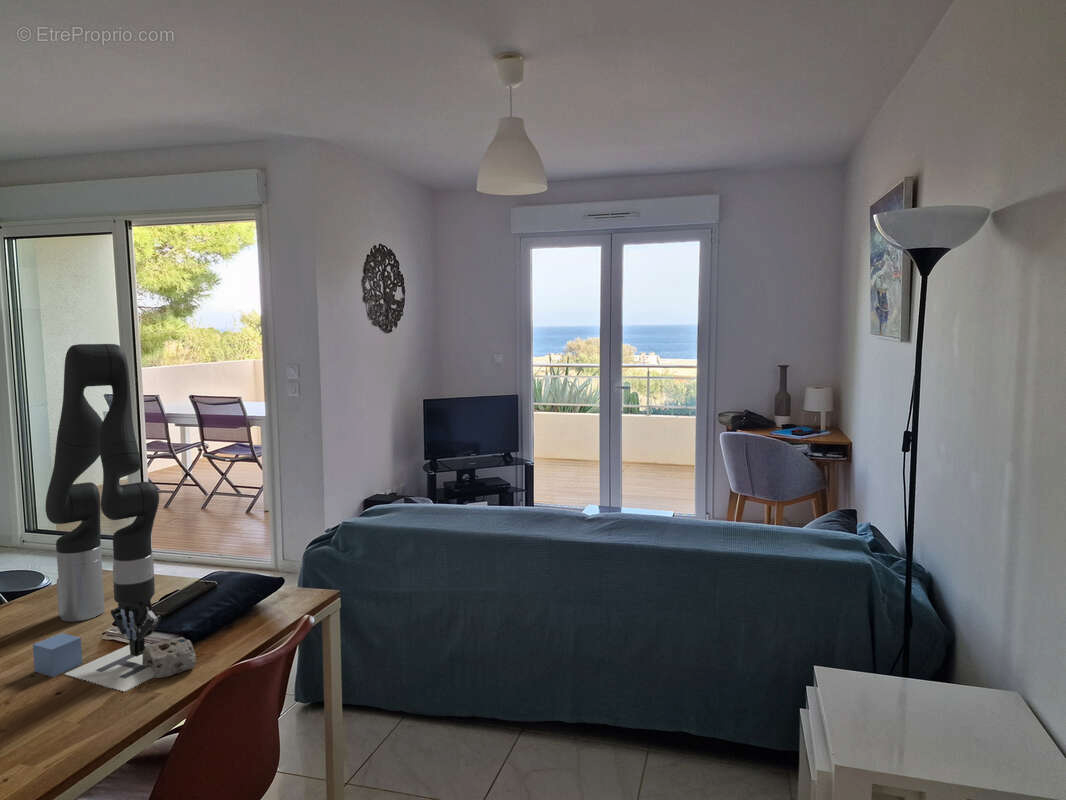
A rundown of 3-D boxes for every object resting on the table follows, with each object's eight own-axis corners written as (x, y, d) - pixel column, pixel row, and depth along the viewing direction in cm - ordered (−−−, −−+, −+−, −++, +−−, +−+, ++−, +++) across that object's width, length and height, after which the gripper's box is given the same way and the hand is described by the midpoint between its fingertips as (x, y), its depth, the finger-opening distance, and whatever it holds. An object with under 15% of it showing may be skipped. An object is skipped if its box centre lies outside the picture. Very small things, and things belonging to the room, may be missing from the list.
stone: (139, 644, 148) (190, 630, 153) (143, 670, 148) (194, 655, 153) (139, 658, 137) (195, 642, 142) (144, 687, 137) (199, 670, 142)
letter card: (64, 674, 142) (64, 673, 142) (135, 642, 157) (135, 641, 157) (124, 692, 135) (124, 690, 135) (192, 657, 150) (192, 656, 150)
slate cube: (34, 672, 144) (32, 644, 143) (63, 659, 149) (62, 633, 149) (53, 677, 141) (51, 649, 141) (82, 664, 147) (80, 637, 146)
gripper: (171, 575, 147) (174, 653, 149) (128, 566, 152) (132, 641, 154) (139, 587, 140) (143, 668, 142) (95, 577, 145) (99, 655, 147)
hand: (137, 654), depth 148 cm, fingers closed
